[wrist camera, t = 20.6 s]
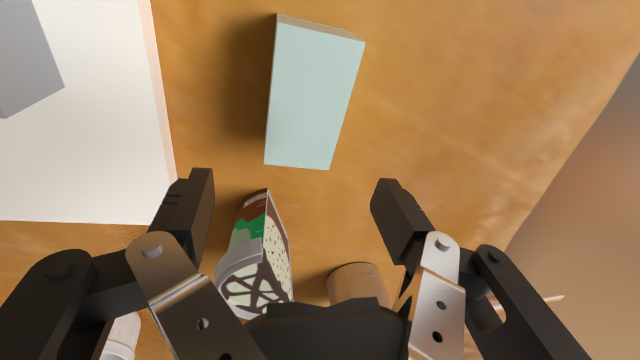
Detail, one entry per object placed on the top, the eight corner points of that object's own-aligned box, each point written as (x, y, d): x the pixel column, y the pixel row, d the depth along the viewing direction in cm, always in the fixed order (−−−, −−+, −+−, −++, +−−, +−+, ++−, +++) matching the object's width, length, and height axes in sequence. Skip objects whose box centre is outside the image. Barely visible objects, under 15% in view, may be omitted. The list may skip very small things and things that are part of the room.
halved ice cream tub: (207, 190, 27) (182, 275, 19) (263, 177, 27) (259, 257, 19) (247, 254, 35) (240, 333, 27) (290, 244, 35) (296, 320, 27)
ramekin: (128, 288, 36) (103, 342, 31) (161, 326, 44) (146, 374, 39) (22, 300, 34) (-24, 360, 29) (77, 337, 43) (49, 389, 37)
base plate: (182, 212, 29) (161, 267, 23) (2, 204, 25) (-74, 268, 19) (137, -83, 14) (55, -118, 9) (-305, -213, 10) (-916, -412, 5)
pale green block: (320, 141, 26) (328, 170, 22) (265, 134, 24) (263, 164, 20) (348, 29, 20) (365, 42, 16) (276, 12, 18) (277, 22, 14)
